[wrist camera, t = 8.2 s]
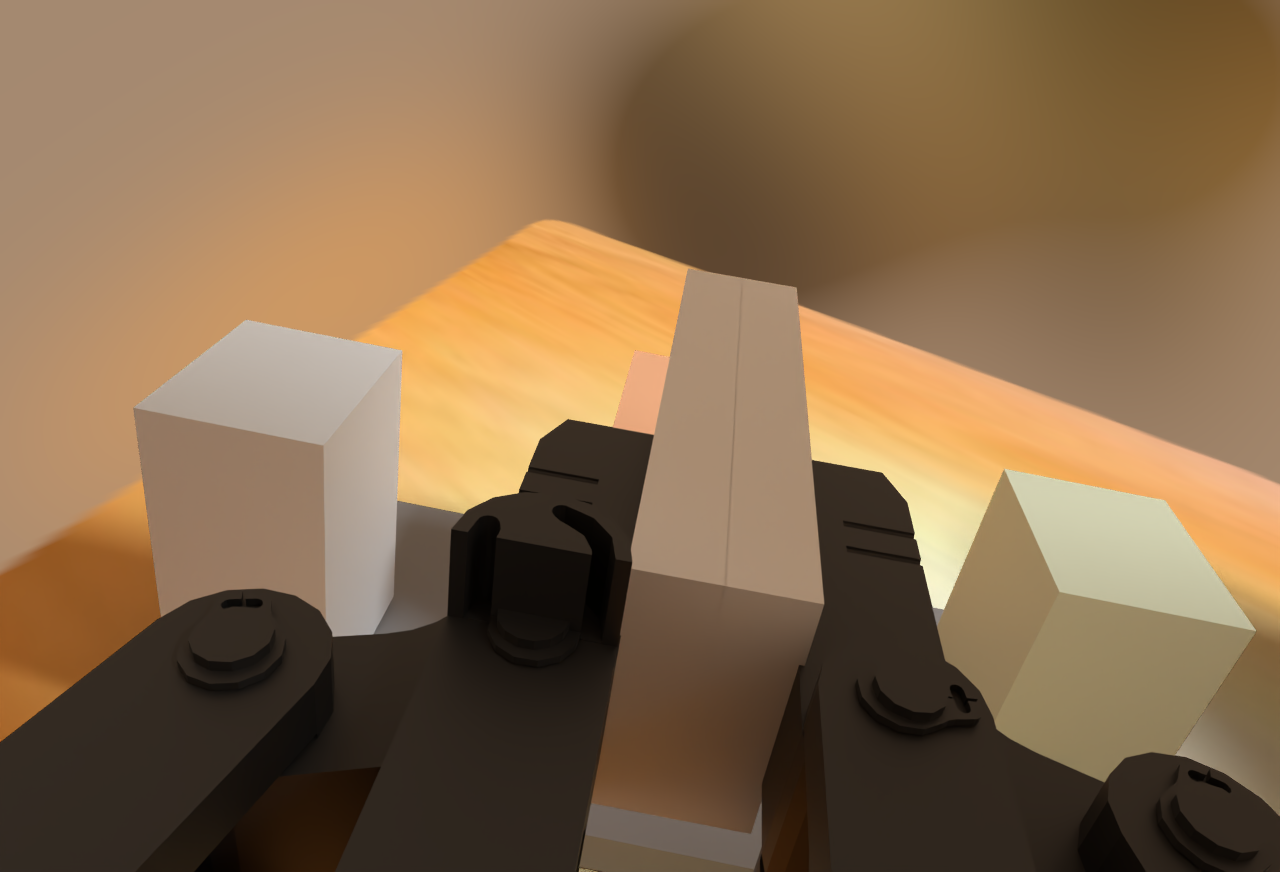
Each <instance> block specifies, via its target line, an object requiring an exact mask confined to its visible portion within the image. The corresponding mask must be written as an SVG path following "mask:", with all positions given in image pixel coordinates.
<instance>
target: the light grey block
mask: <svg viewBox="0 0 1280 872" xmlns="http://www.w3.org/2000/svg"><path fill="white" fill-rule="evenodd" d="M401 372H402V350H397V349H392V348H387V347H382V346H377V345H372V344H367V343H361V342H356V341H351V340H345V339H341V338H336V337H331V336H326V335H321V334H315V333H311V332H305V331H300V330H295V329H290V328H285V327H280V326H275V325H270V324H265V323H260V322H254V321H250V320H245V321H244V322H243V323H242V324H240V325H239V326H238V327H236V328H235V329H234V330H232V331H231V332H230V333H229V334H227V335H226V336H225V337H223V338H222V339H221V340H220V341H218V342H217V343H216V344H214V345H213V346H212V347H211V348H209V349H208V350H207V351H206V352H204V353H203V354H202V355H200V356H199V357H198V358H197V359H195V360H194V361H193V362H191V363H190V364H189V365H188V366H186V367H185V368H184V369H182V370H181V371H180V372H179V373H177V374H176V375H175V376H173V377H172V378H171V379H170V380H168V381H167V382H166V383H164V384H163V385H162V386H161V387H159V388H158V389H157V390H155V391H154V392H153V393H152V394H150V395H149V396H148V397H147V398H145V399H144V400H143V401H141V402H140V403H139V404H137V405H136V406H135V407H134V408H133V410H134V417H135V425H136V432H137V440H138V448H139V455H140V463H141V470H142V478H143V486H144V493H145V501H146V509H147V516H148V524H149V531H150V539H151V547H152V554H153V562H154V569H155V577H156V585H157V592H158V600H159V608H160V615H161V617H162V616H164V615H166V614H168V613H169V612H171V611H173V610H174V609H176V608H178V607H180V606H181V605H183V604H185V603H187V602H188V601H190V600H194V599H197V598H201V597H204V596H208V595H211V594H215V593H218V592H222V591H225V590H240V589H262V588H264V589H268V590H273V591H277V592H282V593H286V594H291V595H296V596H297V597H299V598H300V599H302V600H304V601H305V602H307V603H308V604H310V605H312V606H313V607H315V608H316V609H318V610H320V612H321V614H322V615H323V617H324V619H325V620H326V622H327V624H328V626H329V627H330V629H331V631H332V636H333V637H336V636H353V635H371V634H374V632H375V630H376V628H377V626H378V625H379V623H380V621H381V619H382V617H383V615H384V613H385V612H386V610H387V608H388V606H389V604H390V602H391V600H392V599H393V597H394V574H395V545H396V516H397V487H398V458H399V429H400V400H401Z"/></svg>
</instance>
